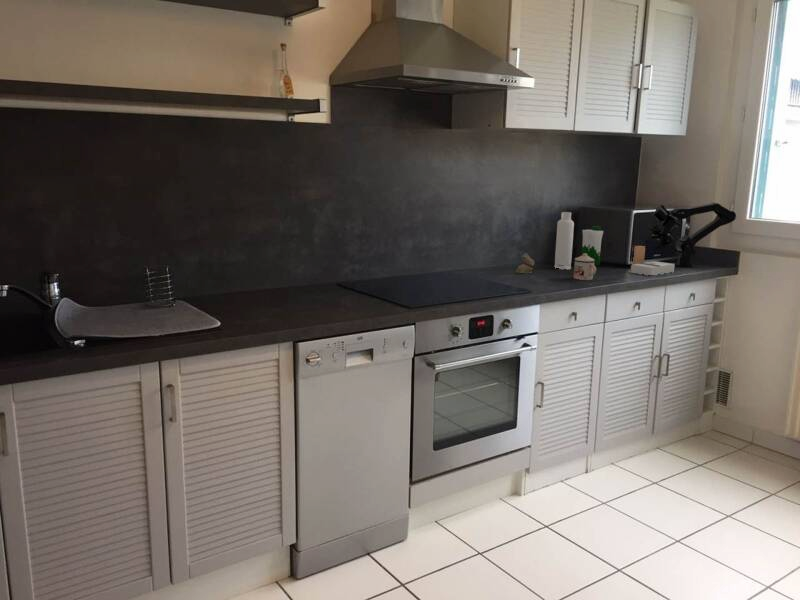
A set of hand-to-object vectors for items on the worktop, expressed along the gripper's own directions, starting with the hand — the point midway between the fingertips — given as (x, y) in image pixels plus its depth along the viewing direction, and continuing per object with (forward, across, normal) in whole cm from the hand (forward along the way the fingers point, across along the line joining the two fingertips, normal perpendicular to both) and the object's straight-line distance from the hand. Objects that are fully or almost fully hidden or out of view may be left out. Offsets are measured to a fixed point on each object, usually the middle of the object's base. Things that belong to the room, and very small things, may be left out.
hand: (647, 250), depth 334 cm
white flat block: (+12, +14, 0) cm, 19 cm away
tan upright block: (+10, 0, +2) cm, 11 cm away
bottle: (+37, -8, -27) cm, 47 cm away
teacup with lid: (+43, +22, -31) cm, 57 cm away
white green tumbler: (+23, -14, -12) cm, 29 cm away
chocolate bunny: (+56, +1, -46) cm, 73 cm away
